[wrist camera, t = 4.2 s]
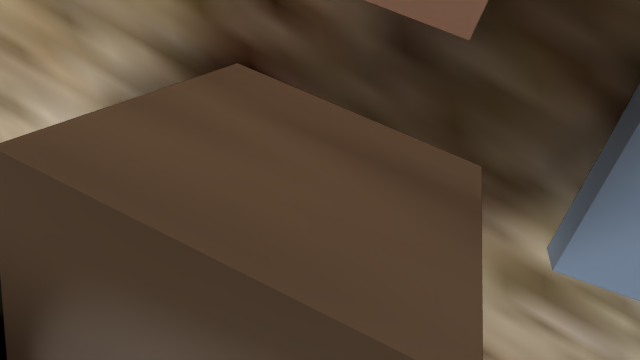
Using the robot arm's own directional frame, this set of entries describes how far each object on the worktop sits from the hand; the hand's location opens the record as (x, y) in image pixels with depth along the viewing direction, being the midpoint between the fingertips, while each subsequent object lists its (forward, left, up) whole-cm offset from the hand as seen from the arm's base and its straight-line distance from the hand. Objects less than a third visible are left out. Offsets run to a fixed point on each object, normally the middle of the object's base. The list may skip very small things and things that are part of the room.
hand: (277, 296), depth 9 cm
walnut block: (0, 0, -1) cm, 1 cm away
